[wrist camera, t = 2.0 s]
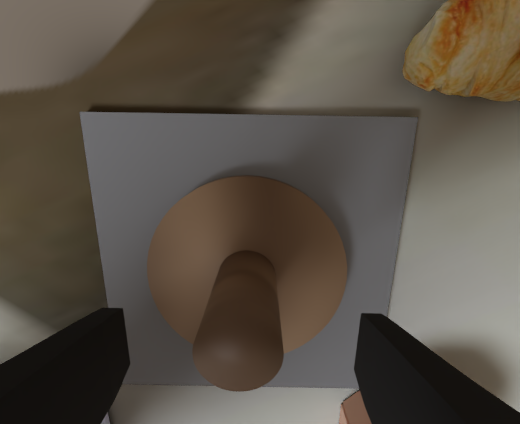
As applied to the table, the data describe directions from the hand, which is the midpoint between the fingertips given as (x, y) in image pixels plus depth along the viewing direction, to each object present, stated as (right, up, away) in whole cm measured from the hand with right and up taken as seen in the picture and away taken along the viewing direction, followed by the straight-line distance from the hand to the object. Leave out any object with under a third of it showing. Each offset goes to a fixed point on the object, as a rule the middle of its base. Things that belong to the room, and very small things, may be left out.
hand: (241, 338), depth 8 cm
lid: (0, +1, +5) cm, 5 cm away
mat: (0, +1, +5) cm, 5 cm away
